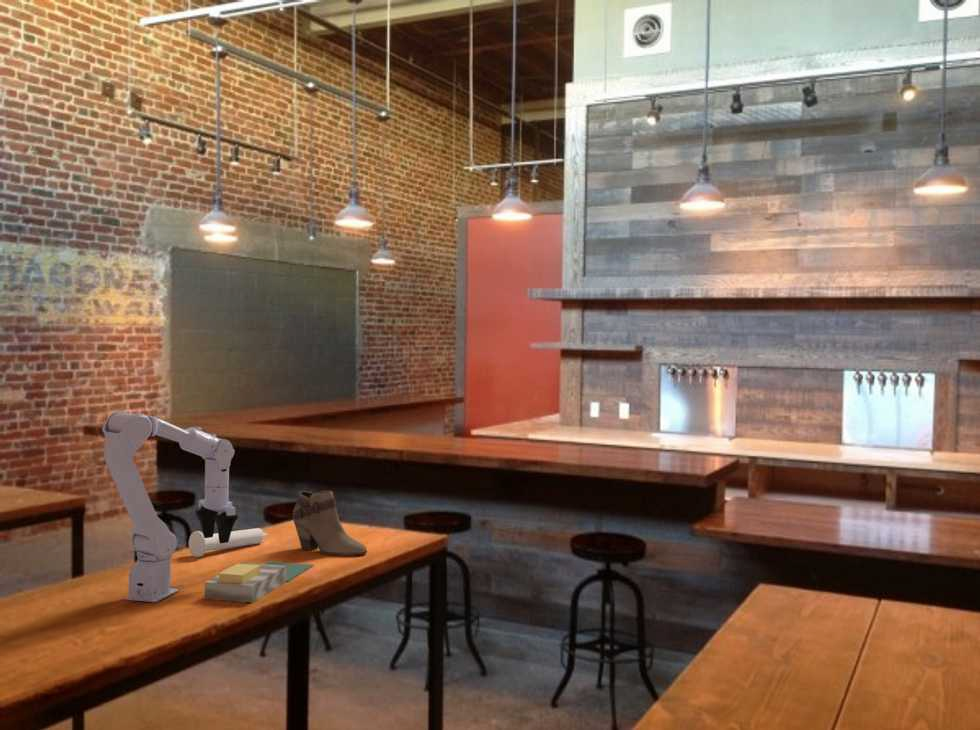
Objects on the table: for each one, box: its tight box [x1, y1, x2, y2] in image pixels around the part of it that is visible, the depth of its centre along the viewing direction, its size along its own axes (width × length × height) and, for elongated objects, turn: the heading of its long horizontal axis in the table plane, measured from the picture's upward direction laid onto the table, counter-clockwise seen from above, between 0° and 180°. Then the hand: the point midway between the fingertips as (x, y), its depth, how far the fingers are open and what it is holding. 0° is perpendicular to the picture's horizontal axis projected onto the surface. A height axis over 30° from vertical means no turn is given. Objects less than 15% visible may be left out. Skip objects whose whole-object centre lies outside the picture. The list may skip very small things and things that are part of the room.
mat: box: [264, 560, 314, 583], centre depth 225 cm, size 16×13×1 cm
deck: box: [204, 562, 287, 604], centre depth 209 cm, size 18×12×4 cm, turn 169°
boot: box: [291, 490, 368, 557], centre depth 248 cm, size 8×24×17 cm, turn 73°
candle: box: [188, 527, 269, 558], centre depth 249 cm, size 7×7×25 cm
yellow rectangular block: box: [218, 563, 260, 584], centre depth 205 cm, size 9×6×2 cm, turn 168°
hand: (216, 540), depth 217 cm, fingers open, 7 cm apart
